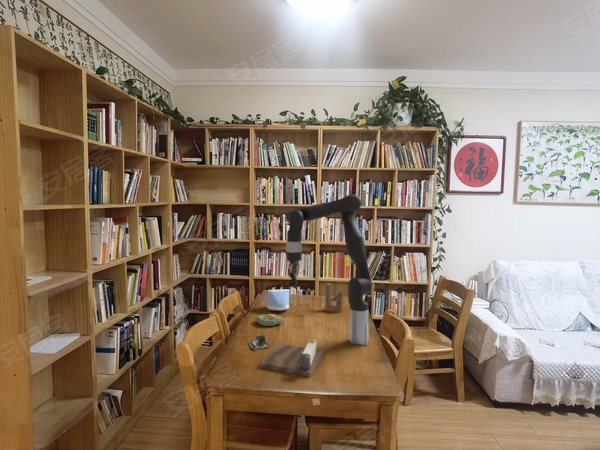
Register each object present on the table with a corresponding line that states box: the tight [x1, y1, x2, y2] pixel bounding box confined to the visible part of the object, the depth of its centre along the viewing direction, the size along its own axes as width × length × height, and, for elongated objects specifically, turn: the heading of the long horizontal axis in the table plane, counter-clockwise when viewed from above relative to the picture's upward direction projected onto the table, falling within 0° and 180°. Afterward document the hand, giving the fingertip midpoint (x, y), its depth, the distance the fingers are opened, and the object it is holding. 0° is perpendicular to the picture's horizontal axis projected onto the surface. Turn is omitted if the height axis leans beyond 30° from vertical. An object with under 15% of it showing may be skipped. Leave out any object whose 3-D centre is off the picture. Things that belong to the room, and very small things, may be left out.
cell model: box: [256, 313, 284, 327], centre depth 179 cm, size 11×8×15 cm
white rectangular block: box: [300, 338, 317, 370], centre depth 133 cm, size 18×4×6 cm, turn 166°
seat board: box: [259, 343, 324, 378], centre depth 137 cm, size 22×20×2 cm
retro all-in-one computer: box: [266, 288, 291, 311], centre depth 203 cm, size 21×19×14 cm
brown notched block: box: [324, 282, 343, 313], centre depth 203 cm, size 4×11×18 cm, turn 81°
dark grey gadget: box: [249, 334, 270, 351], centre depth 153 cm, size 12×6×11 cm
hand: (293, 285), depth 154 cm, fingers closed
